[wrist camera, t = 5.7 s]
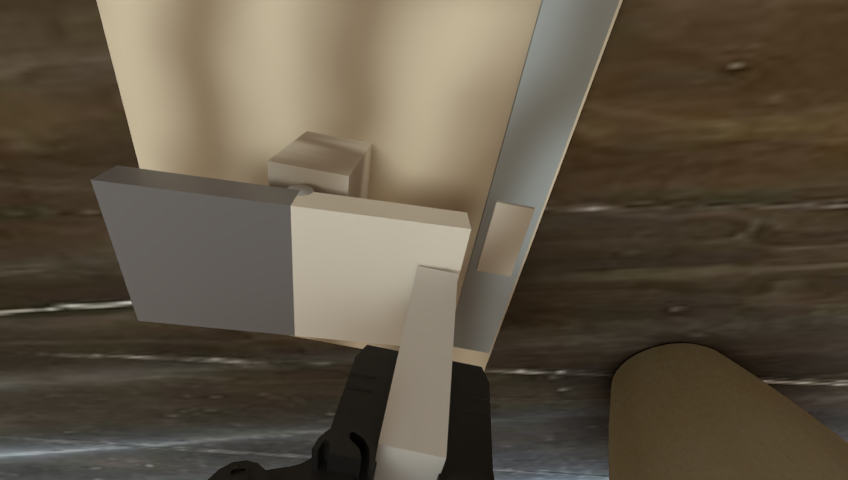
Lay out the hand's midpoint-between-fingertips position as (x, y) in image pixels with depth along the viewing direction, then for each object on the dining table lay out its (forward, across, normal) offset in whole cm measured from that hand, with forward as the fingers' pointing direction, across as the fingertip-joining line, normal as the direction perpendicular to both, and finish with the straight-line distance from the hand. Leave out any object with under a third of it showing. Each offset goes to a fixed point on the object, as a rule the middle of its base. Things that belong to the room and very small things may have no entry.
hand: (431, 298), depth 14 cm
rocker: (+1, -5, 0) cm, 5 cm away
